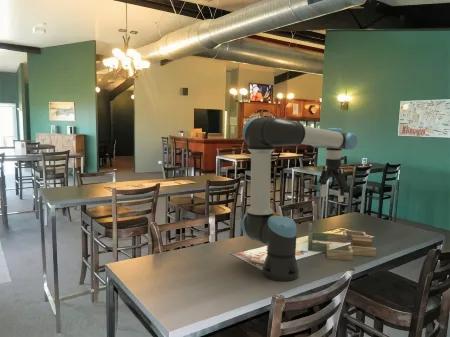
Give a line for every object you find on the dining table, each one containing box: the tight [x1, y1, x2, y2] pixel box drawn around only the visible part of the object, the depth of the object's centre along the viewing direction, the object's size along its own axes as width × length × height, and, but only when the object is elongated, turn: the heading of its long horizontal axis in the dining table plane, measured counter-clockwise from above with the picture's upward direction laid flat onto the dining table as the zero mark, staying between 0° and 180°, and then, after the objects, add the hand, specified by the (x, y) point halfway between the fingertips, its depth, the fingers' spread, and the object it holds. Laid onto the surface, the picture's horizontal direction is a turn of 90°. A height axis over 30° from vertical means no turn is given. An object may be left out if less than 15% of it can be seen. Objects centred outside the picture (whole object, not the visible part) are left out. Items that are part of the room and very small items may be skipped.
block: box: [350, 235, 373, 248], centre depth 181 cm, size 9×9×6 cm
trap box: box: [307, 222, 377, 262], centre depth 183 cm, size 36×32×9 cm
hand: (331, 199), depth 186 cm, fingers open, 13 cm apart
